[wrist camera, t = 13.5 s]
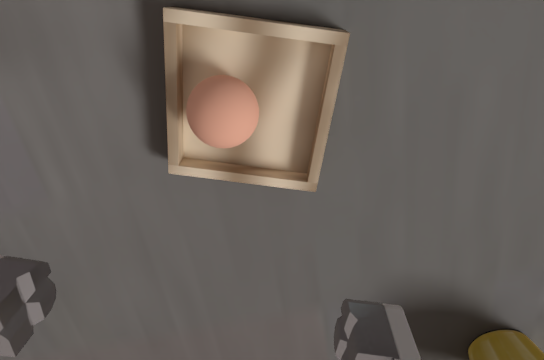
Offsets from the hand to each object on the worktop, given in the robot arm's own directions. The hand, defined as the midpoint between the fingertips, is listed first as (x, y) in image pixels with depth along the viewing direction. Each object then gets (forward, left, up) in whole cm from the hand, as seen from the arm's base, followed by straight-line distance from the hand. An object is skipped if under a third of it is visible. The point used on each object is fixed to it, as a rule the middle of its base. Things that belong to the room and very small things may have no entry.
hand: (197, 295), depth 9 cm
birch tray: (0, 0, -19) cm, 19 cm away
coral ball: (+2, 0, -16) cm, 16 cm away
